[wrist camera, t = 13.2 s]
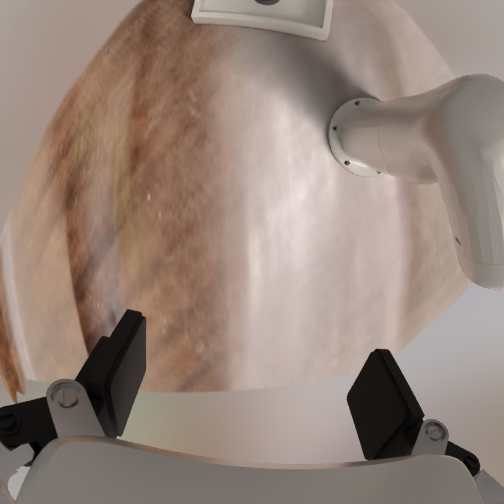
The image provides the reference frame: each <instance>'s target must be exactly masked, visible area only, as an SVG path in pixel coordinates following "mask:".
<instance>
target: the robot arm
mask: <svg viewBox="0 0 504 504" xmlns="http://www.w3.org/2000/svg"><path fill="white" fill-rule="evenodd" d="M355 102H356V103H357V105H355ZM333 127H335V130H333ZM328 138H329V144H330V147H331V150H332V153H333V154H334V156H335V158H336V160H337V161H338V162H339V163H340V165H342V166H343V167H344V168H345V169H346V170H348V171H350V172H351V173H353V174H356V175H358V176H362V177H377V176H380V175H383V174H388V175H392V176H395V177H398V178H401V179H404V180H406V181H410V182H413V183H417V184H433V183H436V182H438V183H439V186H440V189H441V193H442V196H443V200H444V203H445V204H446V208H447V211H448V215H449V220H450V224H451V228H452V233H453V237H454V242H455V247H456V252H457V256H458V260H459V263H460V266H461V268H462V270H463V272H464V273H465V275H466V276H467V277H468V278H469V279H470V280H471V281H472V282H474V283H475V284H477V285H479V286H481V287H484V288H488V289H494V290H504V82H503V81H502V80H501V79H499V78H497V77H494V76H491V75H487V74H474V75H466V76H463V77H460V78H456V79H454V80H451V81H449V82H447V83H445V84H443V85H441V86H439V87H437V88H435V89H433V90H430V91H428V92H425V93H422V94H419V95H414V96H410V97H405V98H400V99H395V100H391V101H386V102H380V101H378V100H376V99H372V98H356V99H352V100H350V101H348V102H346V103H344V104H343V105H341V106H340V107H339V108H338V109H337V110H336V112H335V113H334V115H333V117H332V119H331V121H330V125H329V133H328ZM345 161H347V163H346V164H345V163H344V162H345ZM377 171H378V172H377ZM145 370H146V317H143V316H142V313H141V312H138V311H134V310H130V309H127V310H126V312H125V313H124V315H123V317H122V318H121V320H120V321H119V323H118V325H117V326H116V328H115V329H114V331H113V333H112V334H111V336H110V337H106V336H103V337H101V338H100V340H99V341H98V343H97V345H96V346H95V348H94V349H93V351H92V352H91V354H90V356H89V357H88V359H87V360H86V362H85V364H84V365H83V367H82V369H81V370H80V372H79V374H78V375H77V377H76V379H75V380H71V379H60V380H57V381H55V382H53V383H52V384H51V385H50V386H49V388H48V389H47V392H46V397H42V398H38V399H34V400H30V401H26V402H22V403H17V404H13V405H9V406H4V407H1V408H0V504H504V488H503V486H502V485H500V484H499V483H498V482H497V481H496V480H494V478H492V477H491V476H490V475H489V474H488V473H487V472H486V471H485V470H484V469H482V470H481V471H480V463H479V460H478V458H477V457H476V456H475V455H474V454H472V453H471V452H469V451H467V450H465V449H463V448H461V447H459V446H457V445H455V444H454V443H452V442H450V441H448V437H449V433H448V430H447V428H446V427H445V426H444V425H443V424H442V423H441V422H439V421H437V420H434V419H428V420H426V421H423V419H422V418H423V417H424V416H425V415H424V413H423V411H422V409H421V407H420V405H419V403H418V402H417V400H416V398H415V396H414V394H413V392H412V390H411V388H410V387H409V385H408V383H407V381H406V379H405V377H404V375H403V374H402V372H401V370H400V368H399V366H398V365H397V363H396V361H395V359H394V358H393V356H392V354H391V352H390V351H389V350H388V349H375V350H374V352H371V353H370V355H369V357H368V359H367V360H366V362H365V364H364V366H363V368H362V370H361V372H360V373H359V375H358V377H357V379H356V380H355V382H354V384H353V386H352V388H351V389H350V391H349V393H348V395H347V402H348V405H349V409H350V412H351V415H352V418H353V421H354V424H355V428H356V431H357V434H358V437H359V440H360V444H361V447H362V451H363V454H364V457H365V459H366V460H368V461H361V462H348V463H331V464H273V463H255V462H243V461H233V460H225V459H217V458H210V457H203V456H197V455H191V454H185V453H180V452H174V451H169V450H164V449H159V448H155V447H151V446H146V445H142V444H137V443H133V442H128V441H124V440H119V439H116V437H117V436H120V437H121V436H122V434H123V431H124V429H125V426H126V423H127V420H128V417H129V414H130V411H131V409H132V406H133V403H134V401H135V398H136V395H137V393H138V390H139V387H140V385H141V382H142V380H143V377H144V374H145ZM21 466H26V467H28V466H31V467H30V469H29V471H28V473H27V475H26V477H25V479H24V482H23V484H22V486H21V489H20V491H19V494H18V496H17V499H16V501H15V500H14V499H13V497H12V496H11V495H10V492H9V491H8V486H7V483H8V480H9V478H10V477H11V476H12V475H14V474H15V473H17V469H18V468H20V467H21Z"/></svg>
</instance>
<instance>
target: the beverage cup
mask: <svg viewBox="0 0 504 504" xmlns="http://www.w3.org/2000/svg"><path fill="white" fill-rule="evenodd" d="M255 1H256V2H257V3H259V4H261V5H274V4H276V3H278V2H279V1H280V0H255Z"/></svg>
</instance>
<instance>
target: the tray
mask: <svg viewBox="0 0 504 504" xmlns="http://www.w3.org/2000/svg"><path fill="white" fill-rule="evenodd" d="M332 8H333V0H280V1H279V2H278V3H276V4H274V5H261V4H259V3H257V2H256V1H255V0H195V3H194V7H193V10H192V14H191V18H192V20H193V22H194V23H195V24H216V25H229V26H239V27H248V28H256V29H263V30H270V31H276V32H282V33H288V34H293V35H298V36H302V37H307V38H311V39H316V40H320V41H325V40H326V39H327V37H328V36H329V31H330V24H331V16H332Z"/></svg>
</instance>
